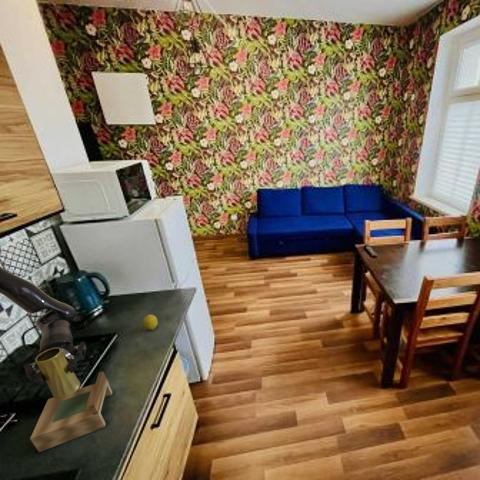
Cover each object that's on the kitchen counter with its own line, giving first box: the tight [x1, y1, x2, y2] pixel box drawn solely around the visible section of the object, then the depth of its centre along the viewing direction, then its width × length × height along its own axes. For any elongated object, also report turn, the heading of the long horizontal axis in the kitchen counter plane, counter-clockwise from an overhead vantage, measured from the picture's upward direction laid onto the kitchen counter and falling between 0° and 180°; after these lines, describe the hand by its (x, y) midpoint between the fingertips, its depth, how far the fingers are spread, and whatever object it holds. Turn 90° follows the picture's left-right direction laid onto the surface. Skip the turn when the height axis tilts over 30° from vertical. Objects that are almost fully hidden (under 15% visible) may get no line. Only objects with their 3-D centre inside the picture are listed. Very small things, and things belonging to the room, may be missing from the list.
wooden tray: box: [29, 371, 113, 453], centre depth 81 cm, size 15×13×10 cm
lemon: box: [142, 314, 158, 331], centre depth 118 cm, size 6×6×8 cm
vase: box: [34, 348, 81, 399], centre depth 77 cm, size 6×6×14 cm
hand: (57, 376), depth 75 cm, fingers closed on vase, 5 cm apart
